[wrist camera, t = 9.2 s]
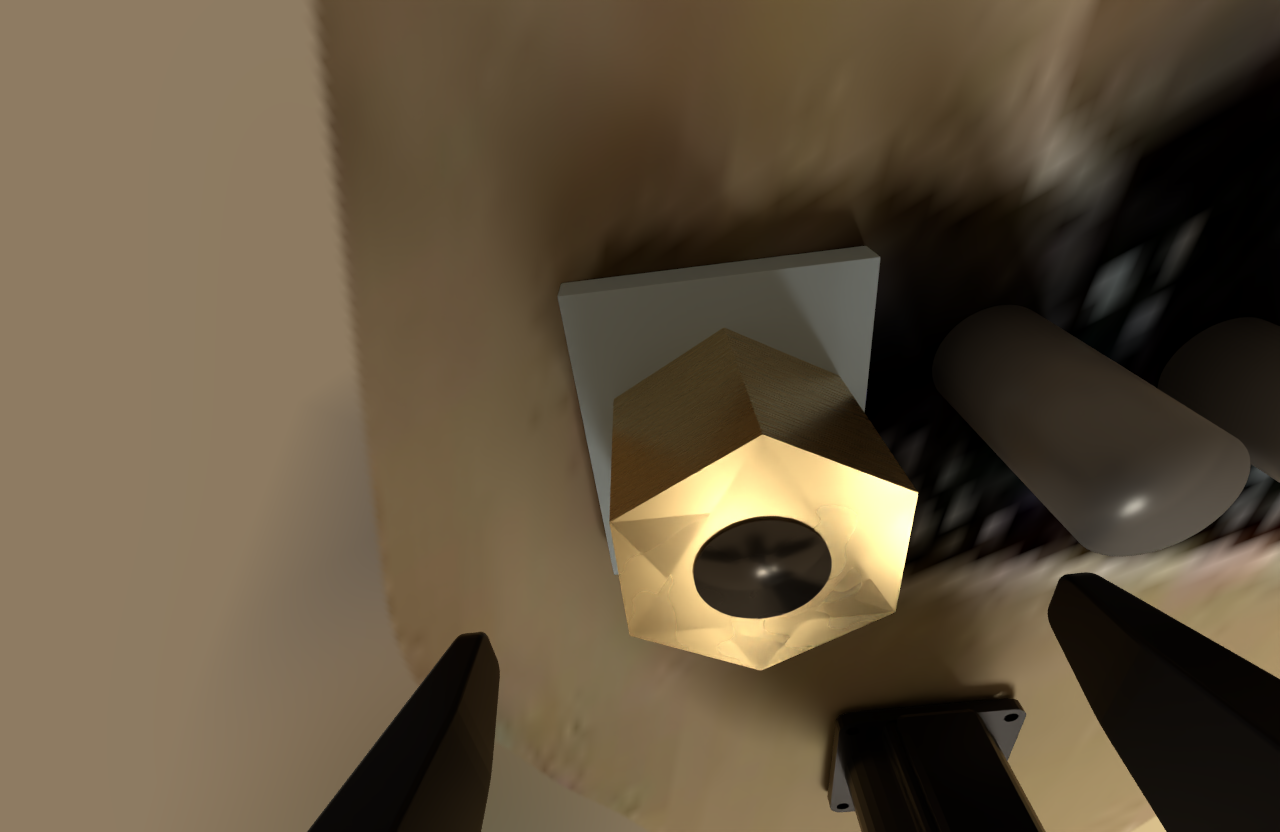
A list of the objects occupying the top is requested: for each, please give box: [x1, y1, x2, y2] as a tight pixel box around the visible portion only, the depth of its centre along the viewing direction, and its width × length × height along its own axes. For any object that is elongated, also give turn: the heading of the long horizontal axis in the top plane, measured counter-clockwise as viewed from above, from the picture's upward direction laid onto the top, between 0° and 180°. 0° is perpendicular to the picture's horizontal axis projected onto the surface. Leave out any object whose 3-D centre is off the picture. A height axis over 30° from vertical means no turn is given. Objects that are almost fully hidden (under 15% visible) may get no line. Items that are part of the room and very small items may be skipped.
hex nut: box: [609, 328, 918, 670], centre depth 12 cm, size 6×5×4 cm
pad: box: [558, 246, 880, 575], centre depth 14 cm, size 8×6×1 cm
